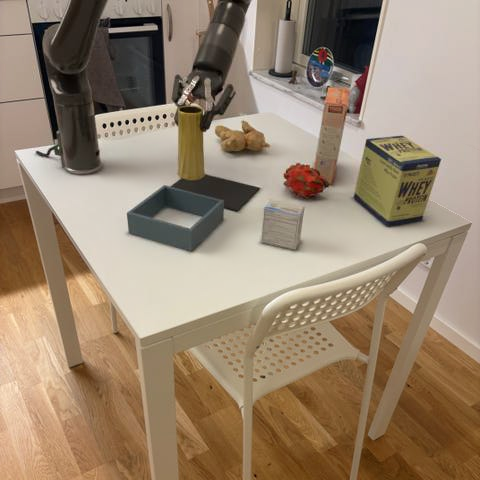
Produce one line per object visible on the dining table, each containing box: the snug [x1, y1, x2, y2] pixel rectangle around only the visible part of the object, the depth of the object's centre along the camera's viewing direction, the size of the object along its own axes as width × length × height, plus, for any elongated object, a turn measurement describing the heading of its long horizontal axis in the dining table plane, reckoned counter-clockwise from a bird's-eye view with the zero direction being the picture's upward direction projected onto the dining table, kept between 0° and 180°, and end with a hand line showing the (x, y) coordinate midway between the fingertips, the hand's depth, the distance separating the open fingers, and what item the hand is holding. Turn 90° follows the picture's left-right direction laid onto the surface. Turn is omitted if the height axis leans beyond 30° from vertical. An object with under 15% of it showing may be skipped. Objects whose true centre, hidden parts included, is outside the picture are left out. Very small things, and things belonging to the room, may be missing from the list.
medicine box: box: [260, 199, 305, 251], centre depth 110 cm, size 8×4×9 cm, turn 71°
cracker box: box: [313, 86, 351, 186], centre depth 135 cm, size 14×6×21 cm, turn 168°
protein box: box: [353, 135, 442, 227], centre depth 123 cm, size 10×16×16 cm
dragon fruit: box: [283, 162, 330, 200], centre depth 129 cm, size 8×8×12 cm
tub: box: [126, 184, 225, 252], centre depth 114 cm, size 16×16×5 cm
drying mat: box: [169, 173, 260, 213], centre depth 130 cm, size 20×14×1 cm
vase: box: [177, 104, 206, 180], centre depth 111 cm, size 6×6×14 cm
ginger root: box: [214, 120, 271, 153], centre depth 151 cm, size 16×16×8 cm
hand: (189, 127), depth 108 cm, fingers closed on vase, 5 cm apart
